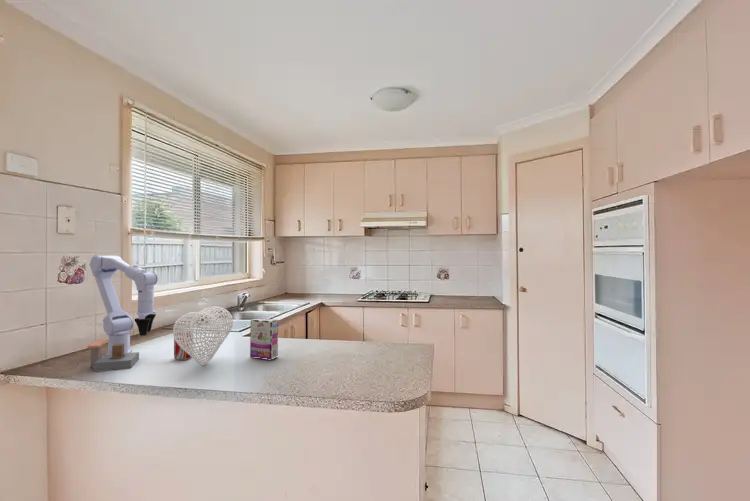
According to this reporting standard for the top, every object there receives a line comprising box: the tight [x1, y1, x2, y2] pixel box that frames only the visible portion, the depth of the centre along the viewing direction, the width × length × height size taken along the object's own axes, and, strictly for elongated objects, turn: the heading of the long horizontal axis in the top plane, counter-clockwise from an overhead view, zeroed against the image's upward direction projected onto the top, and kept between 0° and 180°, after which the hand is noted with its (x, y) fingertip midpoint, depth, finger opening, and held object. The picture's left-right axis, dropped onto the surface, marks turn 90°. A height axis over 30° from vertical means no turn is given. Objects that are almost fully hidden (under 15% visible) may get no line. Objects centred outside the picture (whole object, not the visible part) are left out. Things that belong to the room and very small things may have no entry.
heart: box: [172, 305, 234, 366], centre depth 147 cm, size 28×16×22 cm, turn 177°
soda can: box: [173, 328, 194, 361], centre depth 156 cm, size 7×7×12 cm
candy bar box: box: [249, 317, 279, 359], centre depth 158 cm, size 11×5×16 cm, turn 68°
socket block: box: [86, 338, 140, 372], centre depth 145 cm, size 12×14×9 cm
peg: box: [112, 343, 124, 359], centre depth 146 cm, size 3×3×8 cm
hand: (145, 333), depth 155 cm, fingers open, 7 cm apart
